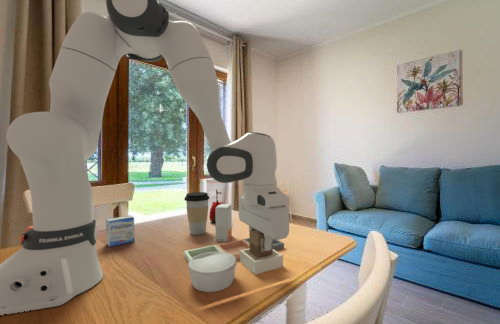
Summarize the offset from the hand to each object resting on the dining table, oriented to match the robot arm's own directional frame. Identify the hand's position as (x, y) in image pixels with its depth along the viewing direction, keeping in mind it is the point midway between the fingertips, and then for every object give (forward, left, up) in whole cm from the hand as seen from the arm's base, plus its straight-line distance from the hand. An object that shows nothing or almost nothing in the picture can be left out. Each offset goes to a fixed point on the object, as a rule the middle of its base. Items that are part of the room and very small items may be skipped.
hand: (260, 245), depth 64 cm
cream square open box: (0, 0, -5) cm, 5 cm away
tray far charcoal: (+7, +11, -5) cm, 14 cm away
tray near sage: (-12, +11, -5) cm, 17 cm away
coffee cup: (-7, +36, -6) cm, 37 cm away
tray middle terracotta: (-3, +11, -5) cm, 12 cm away
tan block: (0, 0, -2) cm, 2 cm away
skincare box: (-1, +24, -6) cm, 24 cm away
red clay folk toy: (+5, +46, -6) cm, 46 cm away
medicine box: (-33, +39, -6) cm, 51 cm away
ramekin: (-14, -1, -6) cm, 15 cm away
